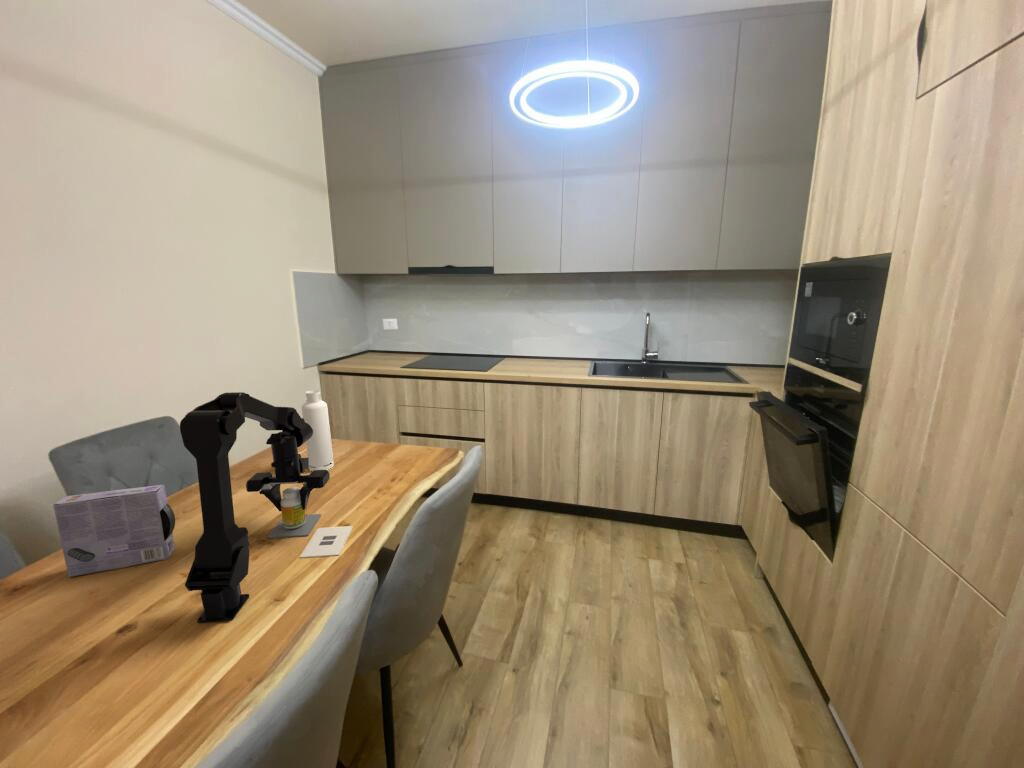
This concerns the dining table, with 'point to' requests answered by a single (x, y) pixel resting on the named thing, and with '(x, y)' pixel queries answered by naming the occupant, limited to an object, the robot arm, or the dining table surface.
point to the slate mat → (295, 532)
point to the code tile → (327, 542)
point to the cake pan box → (115, 529)
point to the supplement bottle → (292, 508)
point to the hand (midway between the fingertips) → (293, 509)
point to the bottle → (318, 432)
